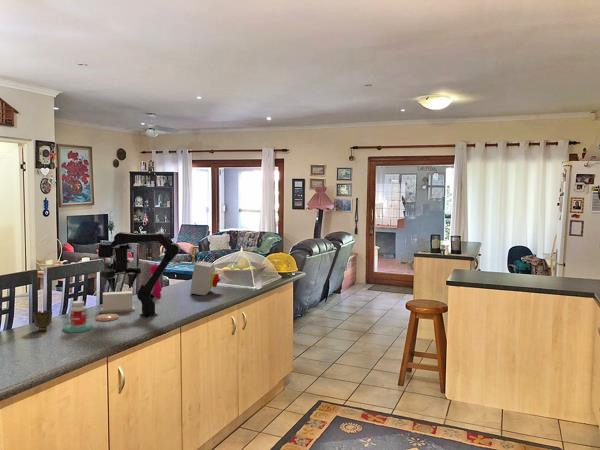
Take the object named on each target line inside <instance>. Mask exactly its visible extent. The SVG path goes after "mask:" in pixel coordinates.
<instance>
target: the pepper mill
mask: <svg viewBox="0 0 600 450" xmlns="http://www.w3.org/2000/svg"><path fill="white" fill-rule="evenodd" d="M158 266H159V264H158V263H157V262H154V263H153V265H151V266H150V269H149V271H150V277H151V276H152V275H153V273H154V272H155V270H156V269H157V267H158ZM162 291H163V288H162V284H161V282H160V278H159V279H158V281H157V282H156V284H155V286H154V289H153V291H152V294H153V295H154V296H155V297H156V298H155V299H157V298H161V297H162V293H161V292H162Z"/></svg>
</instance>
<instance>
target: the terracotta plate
mask: <svg viewBox="0 0 600 450" xmlns="http://www.w3.org/2000/svg"><path fill="white" fill-rule="evenodd" d="M119 317H120V316H119V314H117V313H101V314H98V315H97V316H96V317H95V319H96V321H98V322H110V321H116V320H118V319H119Z"/></svg>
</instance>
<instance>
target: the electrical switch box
mask: <svg viewBox="0 0 600 450" xmlns="http://www.w3.org/2000/svg"><path fill="white" fill-rule="evenodd" d="M216 272H217V271H216V266H215V263H213V262H207V261H202V260H196V262H195V263H194V265H193V272H192V277H191V283H190V290H189V294H193V295H199V296H204V295H205V296H207V295H208V293H210V291H211V290H212V288H217V287H218V283H220V282H221V277H219V276H220V275H219V273H216Z"/></svg>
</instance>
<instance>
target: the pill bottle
mask: <svg viewBox="0 0 600 450" xmlns="http://www.w3.org/2000/svg"><path fill="white" fill-rule="evenodd" d="M71 304H72V306H71V308H70V324H71V327H72V328H82V327H85V326H86V323H87V308H86V306H85V301H84V300H74V301H72V303H71Z"/></svg>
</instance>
